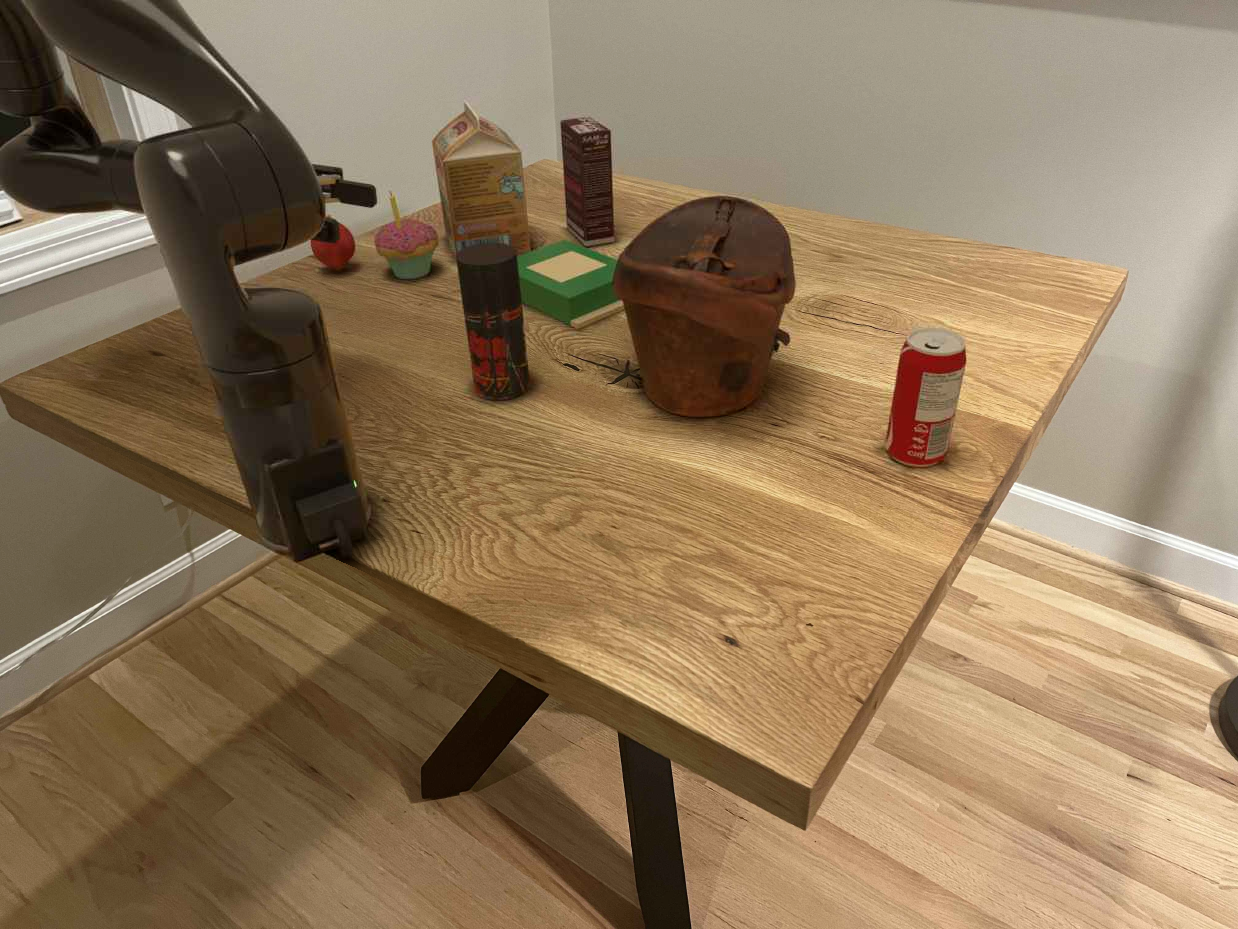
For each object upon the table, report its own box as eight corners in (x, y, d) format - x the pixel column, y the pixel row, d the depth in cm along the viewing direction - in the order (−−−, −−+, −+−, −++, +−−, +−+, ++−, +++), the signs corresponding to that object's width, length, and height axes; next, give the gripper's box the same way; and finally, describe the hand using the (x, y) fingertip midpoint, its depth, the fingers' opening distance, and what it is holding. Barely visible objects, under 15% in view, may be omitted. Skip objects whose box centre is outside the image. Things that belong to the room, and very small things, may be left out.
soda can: (900, 430, 87) (919, 317, 80) (955, 449, 84) (980, 333, 78) (874, 456, 84) (892, 340, 77) (930, 476, 81) (954, 358, 74)
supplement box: (616, 242, 131) (612, 129, 122) (585, 248, 129) (578, 134, 120) (595, 223, 137) (590, 115, 128) (565, 228, 136) (558, 119, 127)
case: (648, 454, 85) (645, 276, 75) (596, 360, 101) (588, 202, 91) (822, 422, 89) (841, 248, 79) (745, 336, 105) (753, 182, 95)
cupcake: (429, 286, 120) (414, 197, 113) (369, 283, 121) (351, 195, 114) (451, 261, 127) (439, 176, 120) (395, 259, 128) (379, 174, 121)
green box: (649, 298, 114) (649, 271, 112) (577, 329, 108) (575, 300, 106) (560, 262, 125) (558, 236, 123) (490, 287, 119) (487, 261, 117)
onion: (308, 274, 125) (294, 217, 120) (337, 259, 129) (324, 204, 124) (340, 281, 122) (327, 223, 118) (368, 266, 126) (357, 210, 122)
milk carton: (446, 237, 135) (426, 104, 124) (515, 228, 137) (501, 96, 126) (457, 263, 126) (437, 122, 115) (530, 252, 129) (517, 113, 118)
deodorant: (467, 381, 98) (448, 249, 90) (519, 368, 100) (505, 238, 92) (484, 405, 94) (465, 269, 85) (538, 392, 96) (525, 257, 87)
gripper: (149, 177, 81) (319, 205, 80) (233, 126, 92) (383, 150, 90) (169, 253, 86) (329, 281, 84) (246, 196, 97) (389, 220, 95)
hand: (357, 213), depth 87 cm, fingers open, 8 cm apart
